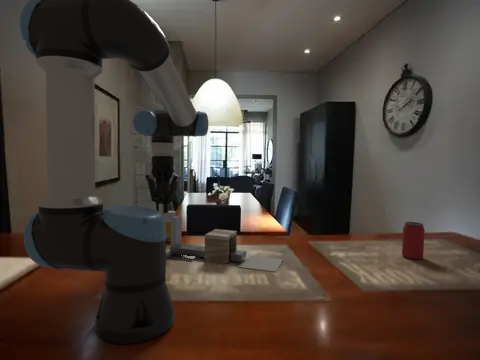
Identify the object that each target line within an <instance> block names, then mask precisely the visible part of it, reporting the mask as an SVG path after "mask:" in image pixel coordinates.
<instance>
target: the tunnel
mask: <svg viewBox="0 0 480 360" xmlns="http://www.w3.org/2000/svg"><path fill="white" fill-rule="evenodd" d="M229 239H230V249H232V250H238V247H237V245H238V243H237V241H238V230H229V229H218V228H214V229H213V230H211V231H210V232H209V231H208V232H207V233H206V234H204V246H205V258H204V262H205V261H210V262H209V263H213V262H218V263H217V264H221V263H230V261H229Z"/></svg>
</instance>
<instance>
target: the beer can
mask: <svg viewBox="0 0 480 360" xmlns="http://www.w3.org/2000/svg"><path fill="white" fill-rule="evenodd" d="M425 231H426V230H425V228H424V224H423V223H421V222H417V221H415V222H414V221H406V222H405V223H404V225H403V227H402V243H401V245H402V247H401V255H402V256H403V257H404V258H405V257H406V259H408V258H409V260H413V261H415V260H416V261H417V260H422V259H423V258H424V250H425V249H424V248H425V246H424V245H425V233H426V232H425Z"/></svg>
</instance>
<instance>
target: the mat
mask: <svg viewBox="0 0 480 360" xmlns="http://www.w3.org/2000/svg"><path fill="white" fill-rule="evenodd" d="M248 256H249V257H248ZM248 256H246V258H245V259H244V260H243V261H242V262H240V264H239V265H238V266H237V268H239V267H241V269H247V268H248V270H254V269H255V270H257V271H262V272H263V271H264V272H271V273H277V272H278V270H279V268H280V267H281V265H282V263H283V262H284V259H282V258H276V257H275V258H274V257H273V258H272V257H265V256H264V257H263V256H258V255H248ZM282 261H283V262H282ZM279 266H280V267H279Z"/></svg>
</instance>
